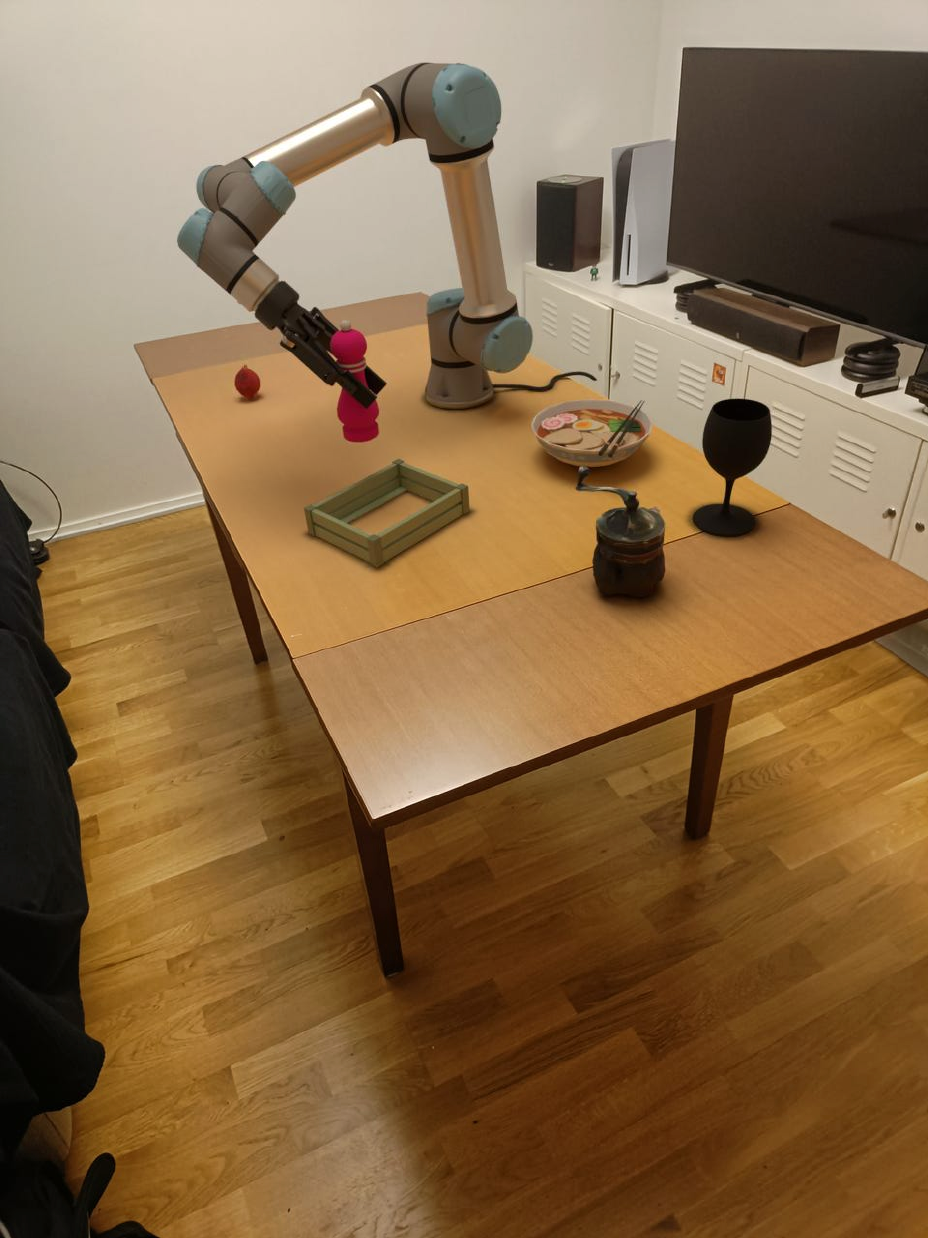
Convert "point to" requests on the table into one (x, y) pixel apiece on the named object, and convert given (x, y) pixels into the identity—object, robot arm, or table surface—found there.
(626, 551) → the coffee grinder
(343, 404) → the pepper mill
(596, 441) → the ramen bowl
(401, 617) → the table surface
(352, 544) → the crate
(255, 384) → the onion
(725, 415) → the wine glass
